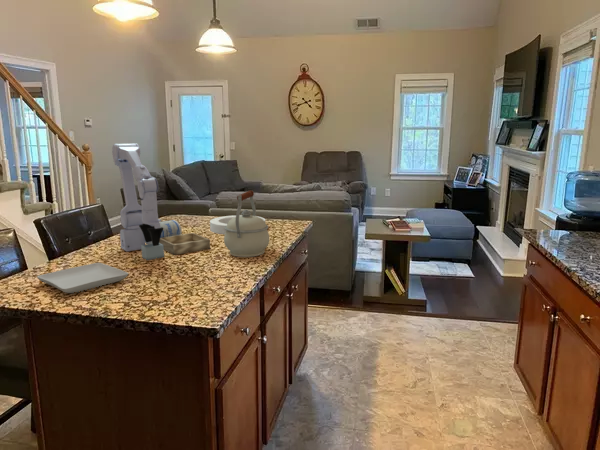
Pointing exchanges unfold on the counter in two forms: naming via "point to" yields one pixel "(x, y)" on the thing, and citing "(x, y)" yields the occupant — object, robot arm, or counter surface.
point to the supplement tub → (169, 229)
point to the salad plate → (83, 277)
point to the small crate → (152, 251)
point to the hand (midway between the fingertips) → (152, 243)
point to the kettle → (246, 231)
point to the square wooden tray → (185, 243)
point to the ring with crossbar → (222, 223)
